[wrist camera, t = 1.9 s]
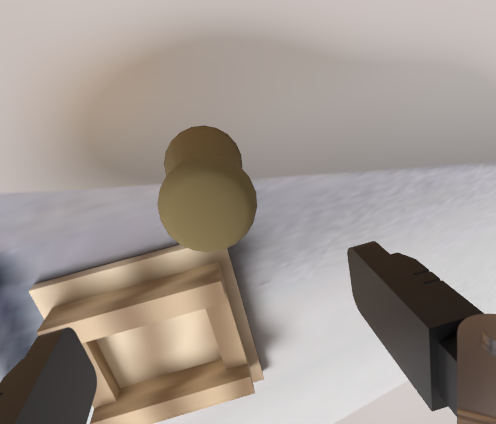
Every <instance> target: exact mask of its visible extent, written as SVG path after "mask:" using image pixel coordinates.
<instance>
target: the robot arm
mask: <svg viewBox="0 0 496 424" xmlns="http://www.w3.org/2000/svg"><path fill="white" fill-rule="evenodd" d="M347 255H348V263H349V270H350V277H351V285H352V292H353V297H354V300H355V303H356V305H357V308H358V310H359V311H360V313H361V315H362V316H363V317H364V319H365V320H366V321H367V323H368V324H369V326H370V327H371V328H372V330H373V331H374V332H375V334H376V335H377V337H378V338H379V339H380V341H381V342H382V343H383V345H384V346H385V348H386V349H387V350H388V352H389V353H390V354H391V356H392V357H393V359H394V360H395V361H396V363H397V364H398V365H399V367H400V368H401V370H402V371H403V372H404V374H405V375H406V376H407V378H408V379H409V381H410V382H411V383H412V385H413V386H414V387H415V389H416V390H417V392H418V393H419V394H420V396H421V397H422V398H423V400H424V401H425V403H426V404H427V405H428V407H429V408H430V409H431V411H435V410H438V409H441V408H444V407H447V406H449V407H450V409H451V410H452V411H453V413H454V414H455V415H456V416H457V424H496V314H484V313H483V312H481V311H480V310H479V309H478V308H476V307H475V306H474V305H473V304H471V303H470V302H469V301H468V300H466V299H465V298H464V297H463V296H461V295H460V294H459V293H457V292H456V291H455V290H454V289H452V288H451V287H450V286H449V285H447V284H446V283H445V282H444V281H440V278H439V277H437V276H436V275H435V274H434V273H432V272H429V269H427V268H426V267H425V266H423V265H422V264H421V263H420V262H418V261H417V260H416V259H414V258H411V257H408V256H406V255H403V254H400V253H394V254H391V255H390V254H389V253H388V252H387V251H386V250H385V249H383V248H382V247H381V246H380V245H379V244H378V243H376V242H375V241H372V242H369V243H365V244H362V245H358V246H355V247H351V248H349V249H348V252H347ZM96 389H97V376H96V371H95V368H94V366H93V364H92V362H91V360H90V359H89V357H88V355H87V353H86V351H85V349H84V347H83V345H82V343H81V342H80V340H79V338H78V336H77V334H76V332H75V331H74V330H73V329H72V328H70V327H67V328H63V329H60V330H56V331H52V332H49V333H45V334H42V335H40V336H38V337H37V338H36V340H35V342H34V343H33V345H32V346H31V348H30V350H29V351H28V353H27V355H26V356H25V358H24V359H22V360H21V361H20V362H19V363H18V364H17V365H16V366H15V367H14V368H13V369H12V370H11V371H10V372H9V373H8V374H7V375H6V376H5V377H4V378H3V380H2V381H1V383H0V424H86V422H87V419H88V416H89V412H90V409H91V406H92V403H93V400H94V396H95V393H96Z"/></svg>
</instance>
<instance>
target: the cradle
mask: <svg viewBox="0 0 496 424" xmlns="http://www.w3.org/2000/svg"><path fill="white" fill-rule="evenodd" d="M29 293H30V295H31V296H32V298H33V300H34V302H35V304H36V305H37V307H38V309H39V311H40V312H41V314H42V316H43V318H44V321H43V323H42V325H41V326H40V328H39V329H38V331H37V334H38V336H40V335H42V334H45V333H49V332H52V331H56V330H60V329H63V328H67V327H70V328H72V329H73V330H74V331H75V332H76V334H77V336H78V338H79V340H80V342H81V343H82V345H83V347H84V349H85V351H86V353H87V355H88V357H89V359H90V360H91V362H92V364H93V366H94V368H95V371H96V376H97V389H96V393H95V396H94V400H93V403H92V405H93V407H94V412H93V415H92V418H91V422H90V424H153V423H156V422H160V421H163V420H166V419H170V418H173V417H176V416H180V415H183V414H186V413H190V412H193V411H196V410H200V409H203V408H207V407H210V406H213V405H217V404H220V403H223V402H227V401H230V400H233V399H237V398H240V397H243V396H247V395H250V394H254V393H255V391H254V386H253V382H257V381H260V380H263V379H264V377H263V373H262V369H261V365H260V362H259V358H258V355H257V351H256V348H255V344H254V341H253V337H252V334H251V330H250V327H249V323H248V320H247V316H246V313H245V309H244V306H243V302H242V298H241V295H240V291H239V288H238V284H237V281H236V277H235V274H234V270H233V267H232V263H231V260H230V256H229V253H228V249H227V248H226V249H224V250H221V251H214V252H201V251H193V250H191V249H189V248H187V247H184V246H182V245H177V246H173V247H170V248H166V249H162V250H159V251H155V252H151V253H147V254H144V255H140V256H136V257H133V258H129V259H125V260H122V261H118V262H114V263H111V264H107V265H103V266H100V267H96V268H92V269H89V270H85V271H81V272H77V273H74V274H70V275H66V276H63V277H59V278H55V279H52V280H48V281H44V282H41V283H37V284H34V285H33V286H32V287H31V289H30V290H29Z"/></svg>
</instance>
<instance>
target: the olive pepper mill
mask: <svg viewBox="0 0 496 424" xmlns="http://www.w3.org/2000/svg"><path fill="white" fill-rule="evenodd" d="M164 166H165V172H166V178H165V180H164V182H163V184H162V186H161V188H160V192H159V199H158V209H159V214H160V219H161V222H162V223H163V225H164V227H165V229H166V230H167V232H168V234H169V235H170V236H171V237H172V238H173V239H174V240H175V241H177V242H178V243H179V244H180V245H182V246H184V247H187V248H189V249H191V250H193V251H201V252H214V251H221V250H224V249H226V248H228V247H230V246H232V245H235V244H236V243H237V242H238V241H239V240H241V239H242V238H243V237H244V236H245V235H246V234H247V232H248V231H249V229H250V227H251V226H252V224H253V221H254V217H255V213H256V209H257V199H256V191H255V189H254V187H253V184H252V182H251V180H250V178H249V176H248V175H247V174H246V173H245V172H244V171H243V170H242V160H241V154H240V152H239V149H238V147H237V145H236V143H235V142H234V141H233V140H232V139H231V138H230V137H229V135H228V134H226V133H224V132H223V131H221V130H219V129H217V128H213V127H208V126H197V127H191V128H189V129H187V130H185V131H183V132H181V133H179V134H178V135H177V136H176V137H175V138H174V139H173V140H172V141H171V143H170V145H169V147H168V149H167V151H166V154H165V161H164Z"/></svg>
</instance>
